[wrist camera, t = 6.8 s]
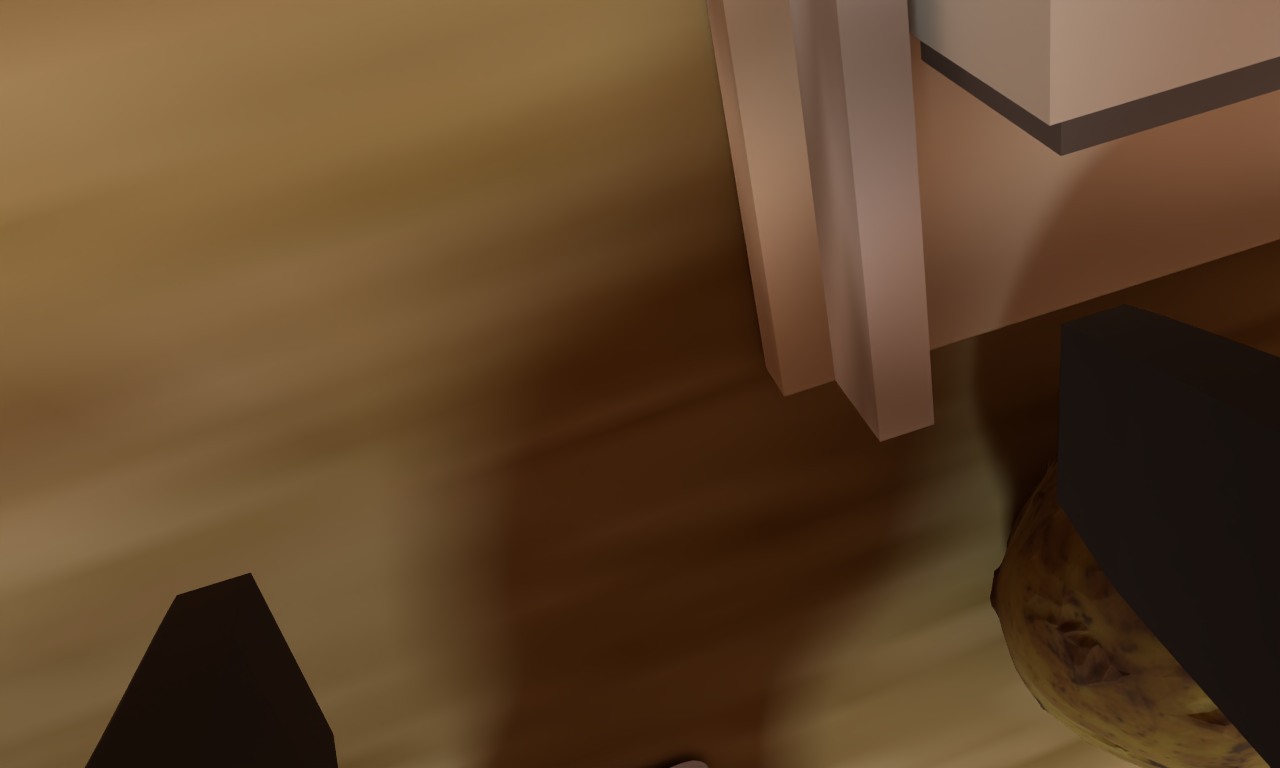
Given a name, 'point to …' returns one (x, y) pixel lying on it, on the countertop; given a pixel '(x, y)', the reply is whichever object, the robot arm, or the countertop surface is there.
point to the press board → (946, 201)
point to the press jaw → (1101, 60)
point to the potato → (1100, 652)
